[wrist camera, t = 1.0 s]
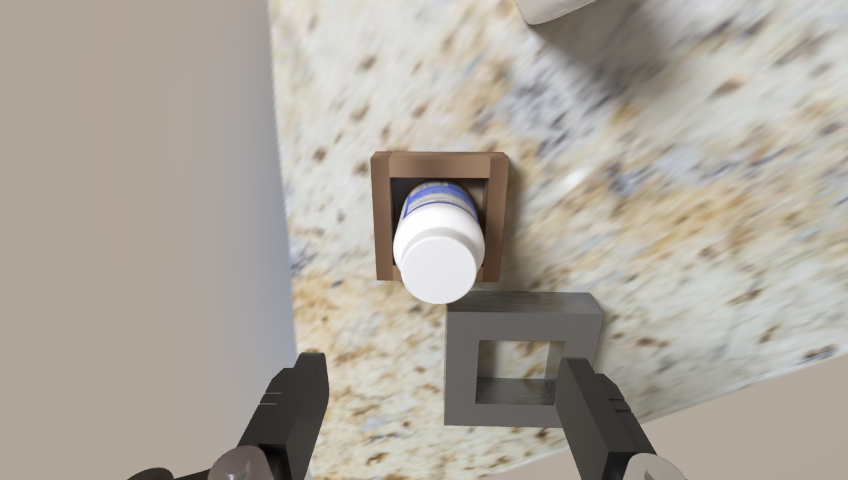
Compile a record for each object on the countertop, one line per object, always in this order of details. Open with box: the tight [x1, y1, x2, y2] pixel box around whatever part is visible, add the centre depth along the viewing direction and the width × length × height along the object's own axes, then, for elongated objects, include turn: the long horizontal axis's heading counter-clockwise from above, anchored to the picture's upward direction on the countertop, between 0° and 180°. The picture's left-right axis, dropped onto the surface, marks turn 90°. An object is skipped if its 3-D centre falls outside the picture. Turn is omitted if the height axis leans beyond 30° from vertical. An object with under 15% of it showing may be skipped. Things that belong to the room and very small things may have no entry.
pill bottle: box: [393, 179, 485, 304], centre depth 25 cm, size 5×5×10 cm
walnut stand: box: [370, 152, 509, 282], centre depth 28 cm, size 9×9×2 cm
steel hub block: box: [444, 291, 604, 428], centre depth 32 cm, size 12×12×3 cm
